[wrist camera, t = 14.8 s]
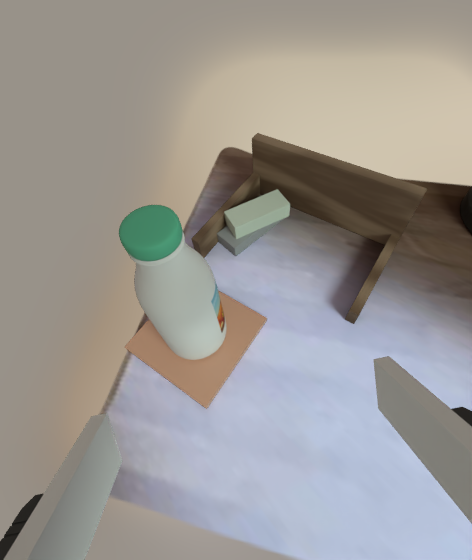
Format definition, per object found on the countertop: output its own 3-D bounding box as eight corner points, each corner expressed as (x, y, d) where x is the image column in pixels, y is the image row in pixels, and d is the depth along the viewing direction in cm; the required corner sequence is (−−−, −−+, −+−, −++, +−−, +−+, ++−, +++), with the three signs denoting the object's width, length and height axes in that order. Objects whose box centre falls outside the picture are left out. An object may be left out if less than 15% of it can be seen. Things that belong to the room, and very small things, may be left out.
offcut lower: (268, 206, 53) (268, 195, 51) (286, 219, 51) (287, 207, 49) (218, 243, 49) (216, 233, 47) (236, 258, 48) (234, 248, 45)
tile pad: (189, 276, 46) (188, 273, 45) (266, 320, 41) (266, 318, 40) (126, 349, 40) (124, 347, 40) (206, 409, 36) (205, 407, 35)
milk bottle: (220, 366, 38) (184, 272, 21) (159, 356, 39) (78, 261, 22) (232, 308, 41) (209, 191, 25) (176, 301, 43) (118, 185, 26)
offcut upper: (277, 201, 50) (277, 189, 48) (289, 215, 48) (290, 203, 46) (225, 223, 48) (223, 211, 46) (236, 239, 46) (234, 227, 44)
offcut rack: (258, 186, 55) (257, 133, 46) (397, 241, 46) (427, 188, 38) (196, 255, 48) (181, 207, 39) (347, 336, 39) (369, 297, 31)
